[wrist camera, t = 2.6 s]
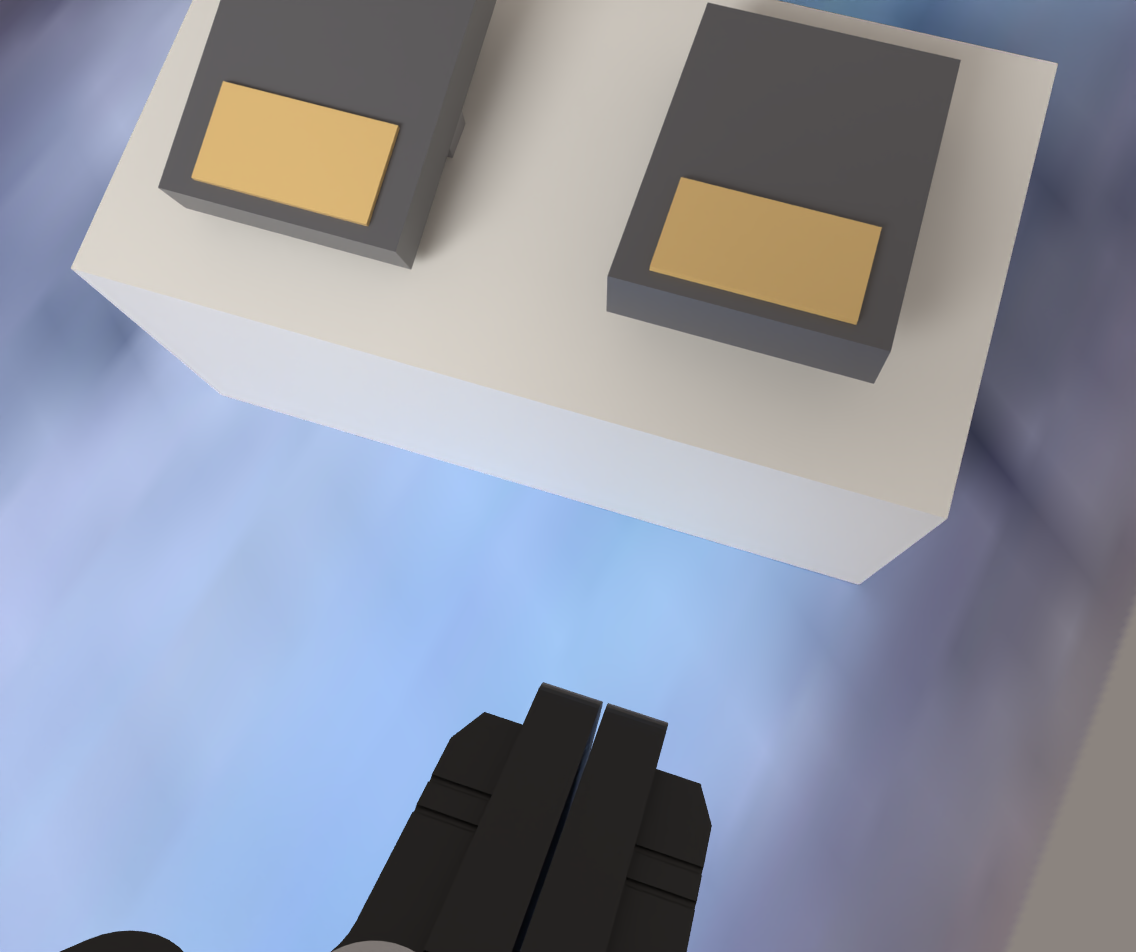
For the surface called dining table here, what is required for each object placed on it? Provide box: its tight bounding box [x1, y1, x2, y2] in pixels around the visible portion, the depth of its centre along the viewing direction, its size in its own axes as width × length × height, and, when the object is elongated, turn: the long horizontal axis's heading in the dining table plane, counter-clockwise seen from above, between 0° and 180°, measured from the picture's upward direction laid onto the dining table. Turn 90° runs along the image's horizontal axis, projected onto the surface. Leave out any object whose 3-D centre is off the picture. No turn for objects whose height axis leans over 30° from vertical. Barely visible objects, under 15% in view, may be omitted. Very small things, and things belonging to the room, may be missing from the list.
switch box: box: [71, 0, 1058, 585], centre depth 31 cm, size 22×12×11 cm, turn 72°
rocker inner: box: [158, 0, 497, 269], centre depth 26 cm, size 6×8×2 cm
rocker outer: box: [606, 3, 961, 384], centre depth 24 cm, size 6×8×2 cm
